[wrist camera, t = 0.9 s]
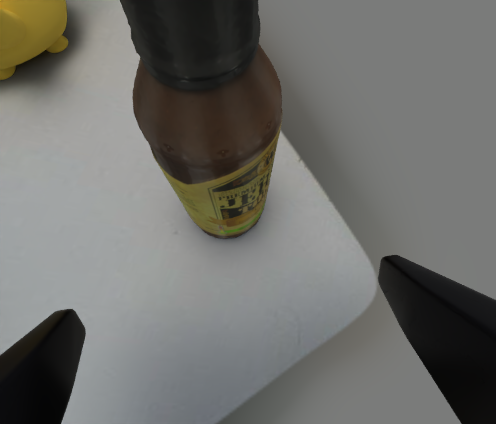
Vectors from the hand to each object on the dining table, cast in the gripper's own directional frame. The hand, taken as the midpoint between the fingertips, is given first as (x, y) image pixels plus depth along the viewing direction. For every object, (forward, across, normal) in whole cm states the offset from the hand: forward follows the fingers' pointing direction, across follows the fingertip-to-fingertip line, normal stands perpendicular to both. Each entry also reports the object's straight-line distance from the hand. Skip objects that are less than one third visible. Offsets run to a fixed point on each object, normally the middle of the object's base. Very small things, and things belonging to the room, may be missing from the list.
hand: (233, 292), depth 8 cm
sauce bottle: (+15, 0, +5) cm, 16 cm away
